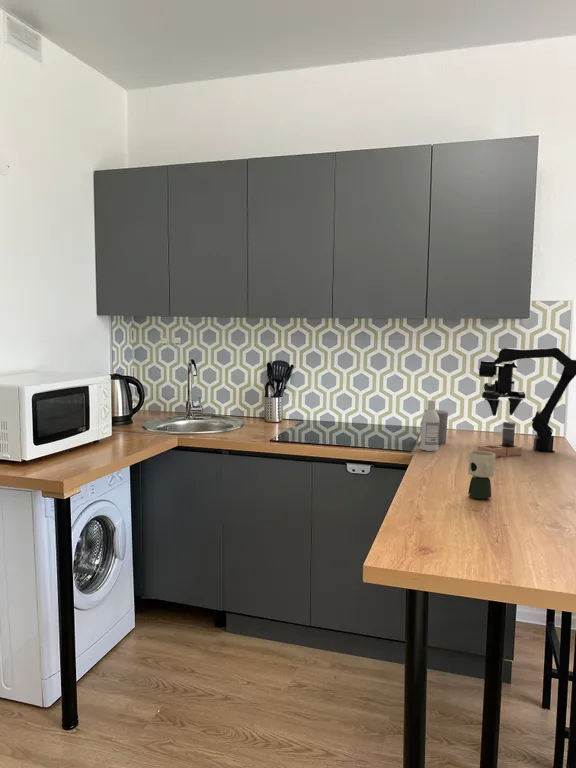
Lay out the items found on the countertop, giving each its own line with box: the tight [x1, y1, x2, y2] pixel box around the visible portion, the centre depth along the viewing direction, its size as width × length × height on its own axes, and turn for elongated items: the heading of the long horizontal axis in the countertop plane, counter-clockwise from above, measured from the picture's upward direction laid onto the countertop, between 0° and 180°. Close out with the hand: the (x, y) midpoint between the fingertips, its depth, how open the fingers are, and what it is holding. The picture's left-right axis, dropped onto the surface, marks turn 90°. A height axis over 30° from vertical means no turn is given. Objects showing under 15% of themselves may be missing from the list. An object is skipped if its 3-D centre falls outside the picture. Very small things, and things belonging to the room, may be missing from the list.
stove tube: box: [501, 421, 516, 448], centre depth 234 cm, size 4×4×12 cm
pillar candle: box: [424, 408, 449, 445], centre depth 253 cm, size 10×10×15 cm
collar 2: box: [495, 443, 523, 457], centre depth 235 cm, size 7×7×3 cm
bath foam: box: [419, 399, 440, 452], centre depth 236 cm, size 7×7×20 cm
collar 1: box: [477, 444, 507, 458], centre depth 231 cm, size 7×7×3 cm
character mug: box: [467, 450, 496, 500], centre depth 169 cm, size 11×7×13 cm, turn 1°
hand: (502, 415), depth 249 cm, fingers open, 9 cm apart
